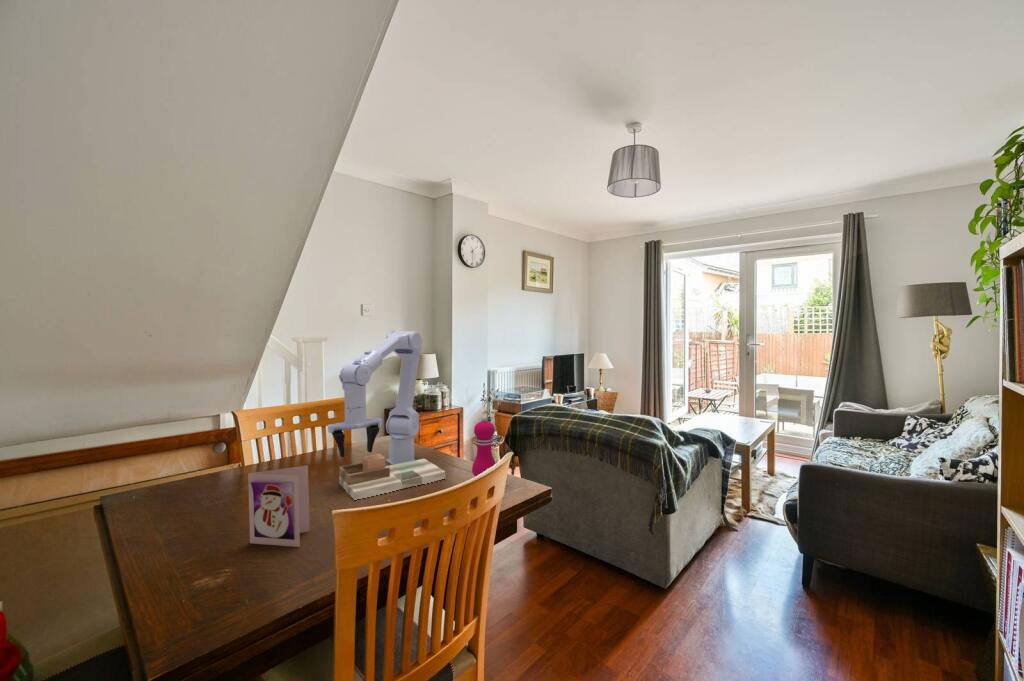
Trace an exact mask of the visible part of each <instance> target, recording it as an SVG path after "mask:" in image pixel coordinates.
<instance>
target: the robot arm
mask: <svg viewBox="0 0 1024 681" xmlns="http://www.w3.org/2000/svg"><path fill="white" fill-rule="evenodd" d="M422 345H423V338H422V336H421V334H420V333H419V331H416V330H413V331H406V330H404V331H403V330H401V331H400V330H392V331H390V333H388V334H386V338H385V340H384V341H382V342H381V344H380V345H378V347H376V348H375V350H374V349H373V350H371V349H369V350H368V349H367V350H365V351H364V353H363V354H362V355H361V356H360V357H358V358H357V359H355V360H354V361H353V363H352V364H345V365H344V366H343V367H342V368H341V370H340V372H339V375H338V378H339V381H340V382H341V385H342V390H343V391H344V392H343V393H344V394H343V395H344V399H343V400H344V421H341V422H336V423H330V424H327V432H328V433H329V434H331V435H332V436H333V438H334V441H335V443H336V445H337V449H338V452H339V457H341V458H345V437H346V435H345V434H344V431H348V430H357V429H362V428H365V431H366V450H367V452H369V453H372V452H373V448H374V444H375V441H376V438H377V436H378V434H379V432H380V427H382V426H383V419H382V418H380V417H378V418H377V417H376V418H367V404H366V403H367V396H366V395H367V388H366V387H367V386H366V385H367V384H368V383H369V382H370V380H371V376H372V375H373V373H374V372H376V370H377V369H379V368H380V367H381V366H382V364H383V359H385V358H386V357H387V356H388V355H390V354H391V353H395V354H396V355H397V356H398V357H400V359H401V360H402V362H401V363H402V364H401V370H400V378H399V386H398V393H397V401H396V406H395V407H394V408H393V409H392V410H390V411H389V414H388V417H387V420H386V422H385V429H386V432H387V434H389V441H388V458H385V462H387V463H388V464H390V465H394V464H399V463H404V462H409V461H414V460H416V459H415V437H416V436H417V434H418V433H419V430H420V419H419V418H420V414H419V413H418V411H416V410H415V409H414V399H415V392H416V385H417V384H416V383H417V377H418V376H417V375H418V368H419V362H420V361H419V360H420V359H419V358H420V357H421V354H422V347H423V346H422Z"/></svg>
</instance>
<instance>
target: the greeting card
mask: <svg viewBox="0 0 1024 681" xmlns="http://www.w3.org/2000/svg"><path fill="white" fill-rule="evenodd" d="M247 478H248V483H247V484H248V510H249V511H248V512H249V513H248V514H249V515H248V516H249V543H250V544H255V545H256V544H257V545H269V546H281V547H295V548H296V547H297V548H300V547H301V546H300V544H301V543H300V542H301V539H300V534H304V533H308V532H310V498H309V495H310V494H309V465H301V466H293V467H287V468H280V469H278V468H277V469H273V470H272V469H271V470H264V471H257V472H250V473H247Z"/></svg>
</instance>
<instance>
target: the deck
mask: <svg viewBox="0 0 1024 681" xmlns="http://www.w3.org/2000/svg"><path fill="white" fill-rule="evenodd" d="M388 467H389V468H390V477H386V478H381V479H376V480H372V481H367V482H362V483H358V484H353V485H348V484H347V483H346V482H345V481H344V480H343V479H342V478H341V476H340V475H339V474H338V475H339V485H340V486H341V488H343V490H344V489H345V490H346V491H345V490H344V491H345V492H346V493H347V494H348V496H349V495H350V496H351V497H352V498H353V499H354V500H357V499H361V500H363V499H362V498H366V499H368V498H367V497H370V498H372V497H371V496H374V497H377V496H376V495H378V496H381V495H380V494H383V495H385V494H384V493H387V494H390V493H389V492H391V493H393V492H392V491H395V492H397V491H396V490H399V489H403V488H406V487H411V486H416V487H418V486H417V485H421V484H425V485H428V484H427V483H429V484H432V483H431V482H433V483H435V482H434V481H437V480H441V479H444V478H445V479H446V470H444V469H442V468H440V467H439V466H438V465H436V464H434V463H432V462H431V461H429V460H427V459H426V458H419V459H415V460H414V461H409V462H404V463H399V464H394V465H391V464H390V465H389V464H388V465H385V468H388ZM358 473H363V472H358ZM358 473H353V474H358ZM353 474H349V475H353ZM409 478H411V479H409ZM405 479H406V480H405ZM401 480H402V481H401ZM421 486H422V485H421ZM399 491H400V490H399ZM350 496H349V497H350ZM351 497H350V498H351ZM352 498H351V499H352ZM353 499H352V500H353ZM354 500H353V501H354ZM357 501H358V500H357Z"/></svg>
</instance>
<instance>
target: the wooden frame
mask: <svg viewBox="0 0 1024 681" xmlns="http://www.w3.org/2000/svg"><path fill="white" fill-rule="evenodd" d="M338 468H339V471H338V472H339V474H338V475H340V476H341V478H342V479H343V480H344V481H345V482H346V483H347V484H348V485H353V484H358V483H362V482H367V481H372V480H376V479H381V478H386V477H390V468H389V467H388V468H383V469H378V470H373V471H368V472H363V462H359V463H354V464H353V463H352V464H347V465H342V466H339V467H338ZM358 472H363V473H358ZM353 473H358V474H353ZM349 474H353V475H349ZM340 476H339V477H340Z"/></svg>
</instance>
